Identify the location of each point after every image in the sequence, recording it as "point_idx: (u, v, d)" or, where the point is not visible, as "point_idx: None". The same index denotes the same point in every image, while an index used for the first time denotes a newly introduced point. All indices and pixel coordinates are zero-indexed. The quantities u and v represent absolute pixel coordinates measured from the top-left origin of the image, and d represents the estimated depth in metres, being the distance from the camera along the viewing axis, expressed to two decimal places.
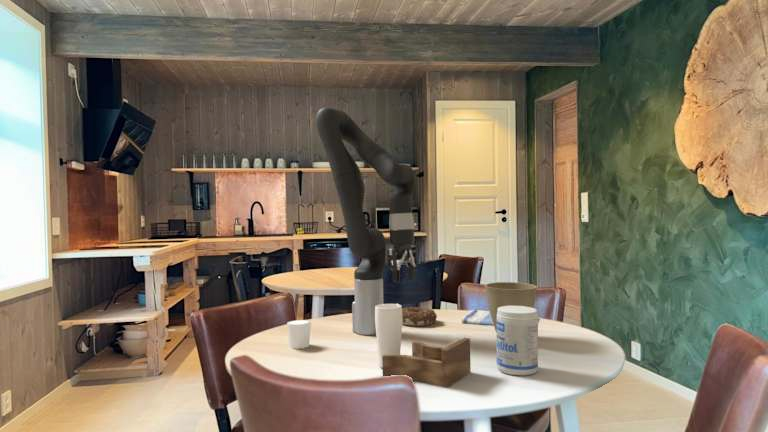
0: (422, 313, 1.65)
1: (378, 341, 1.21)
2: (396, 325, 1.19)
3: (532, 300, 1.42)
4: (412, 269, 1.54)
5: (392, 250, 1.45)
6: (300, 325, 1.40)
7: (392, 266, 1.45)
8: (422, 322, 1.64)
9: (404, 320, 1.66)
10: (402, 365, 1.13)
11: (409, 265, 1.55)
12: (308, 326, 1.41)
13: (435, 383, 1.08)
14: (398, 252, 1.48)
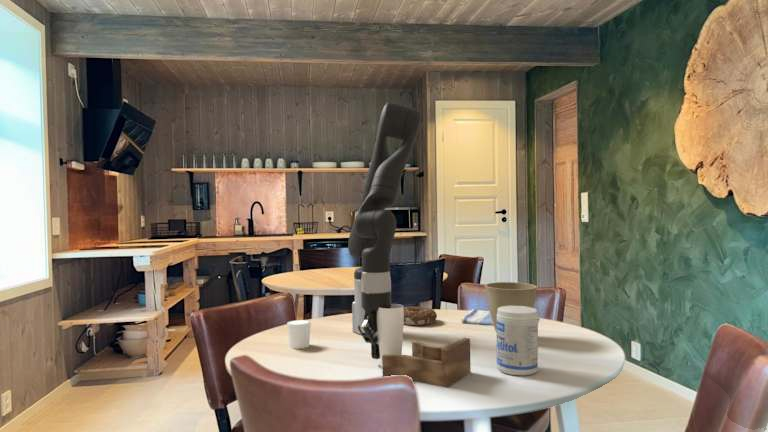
0: (422, 312, 1.67)
1: (379, 341, 1.20)
2: (398, 325, 1.19)
3: (533, 300, 1.42)
4: None
5: (364, 329, 1.18)
6: (300, 325, 1.40)
7: (371, 340, 1.21)
8: (422, 321, 1.65)
9: (405, 319, 1.67)
10: (402, 365, 1.13)
11: None
12: (308, 326, 1.41)
13: (435, 383, 1.08)
14: (371, 322, 1.21)
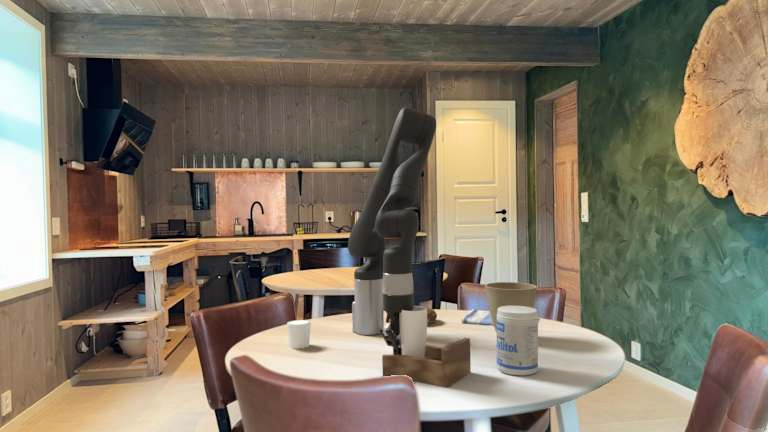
0: None
1: (402, 344, 1.17)
2: (421, 328, 1.16)
3: (533, 300, 1.42)
4: None
5: (386, 333, 1.15)
6: (300, 325, 1.40)
7: (393, 344, 1.17)
8: None
9: None
10: (402, 365, 1.13)
11: (398, 342, 1.21)
12: (308, 326, 1.41)
13: (435, 383, 1.08)
14: (393, 325, 1.17)
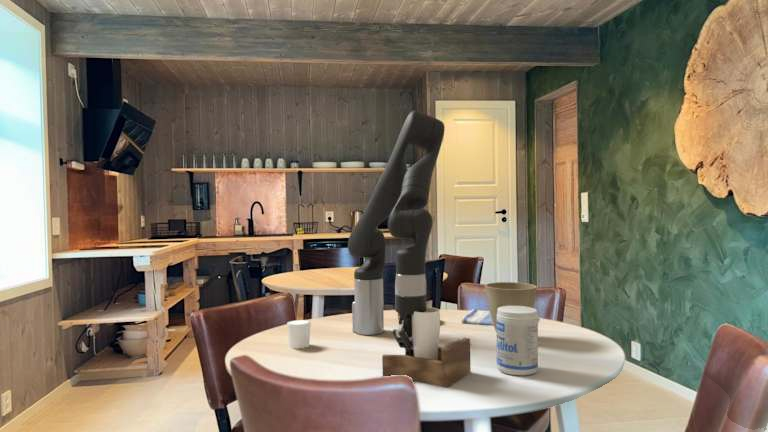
0: None
1: (415, 346, 1.15)
2: (434, 330, 1.14)
3: (533, 300, 1.42)
4: None
5: (399, 334, 1.13)
6: (300, 325, 1.40)
7: (406, 345, 1.16)
8: None
9: None
10: (402, 365, 1.13)
11: None
12: (308, 326, 1.41)
13: (435, 383, 1.08)
14: (406, 326, 1.15)
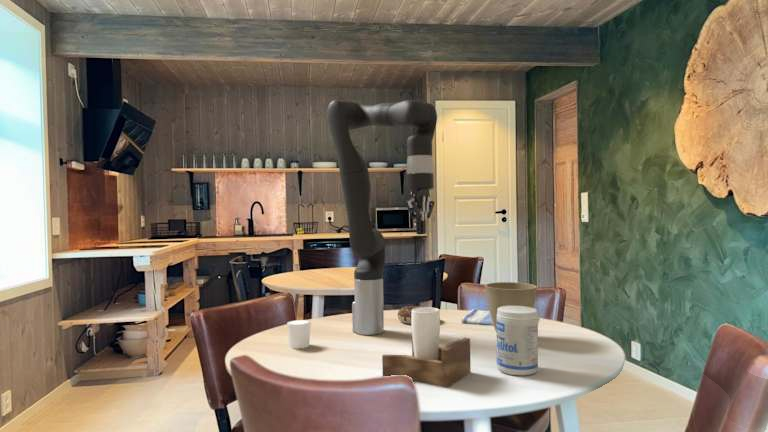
0: None
1: (415, 346, 1.15)
2: (434, 330, 1.14)
3: (532, 300, 1.42)
4: None
5: (411, 204, 1.33)
6: (300, 325, 1.40)
7: (416, 215, 1.35)
8: None
9: (405, 319, 1.68)
10: (402, 365, 1.13)
11: None
12: (308, 326, 1.41)
13: (435, 383, 1.08)
14: (417, 199, 1.35)
